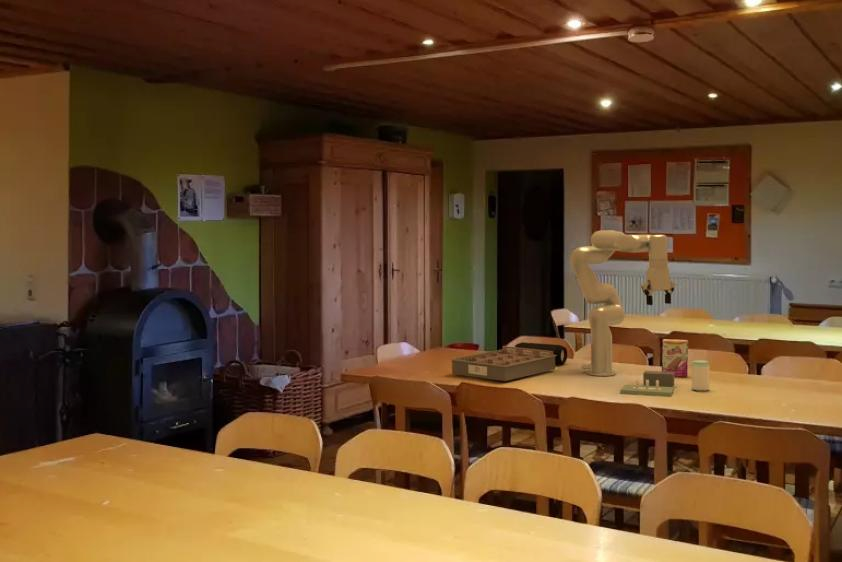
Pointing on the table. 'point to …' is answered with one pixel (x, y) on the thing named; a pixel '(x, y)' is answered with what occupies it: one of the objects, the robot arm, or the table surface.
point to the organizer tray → (505, 363)
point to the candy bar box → (675, 357)
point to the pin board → (647, 389)
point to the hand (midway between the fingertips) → (658, 304)
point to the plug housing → (659, 378)
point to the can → (700, 375)
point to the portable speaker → (556, 349)
